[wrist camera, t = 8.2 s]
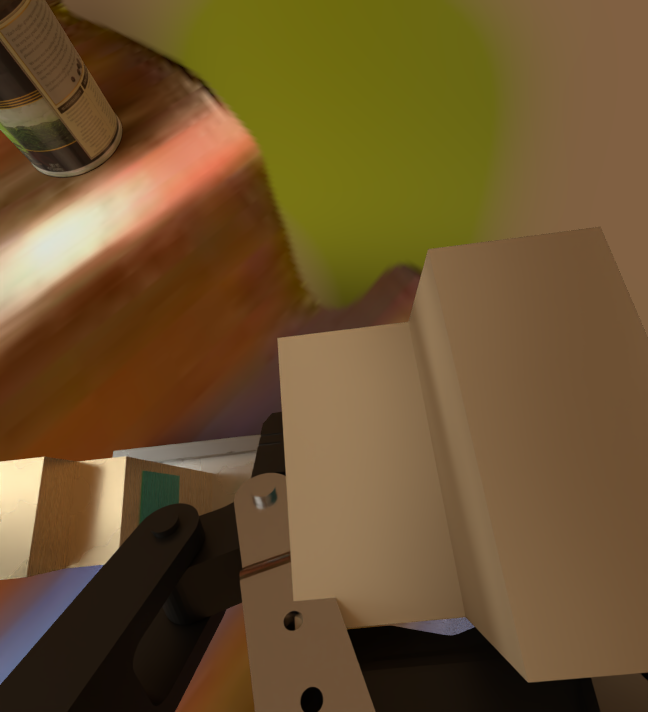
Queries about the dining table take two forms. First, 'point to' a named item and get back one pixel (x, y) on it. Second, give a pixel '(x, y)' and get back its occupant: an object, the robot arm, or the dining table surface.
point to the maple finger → (482, 457)
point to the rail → (108, 499)
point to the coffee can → (50, 94)
